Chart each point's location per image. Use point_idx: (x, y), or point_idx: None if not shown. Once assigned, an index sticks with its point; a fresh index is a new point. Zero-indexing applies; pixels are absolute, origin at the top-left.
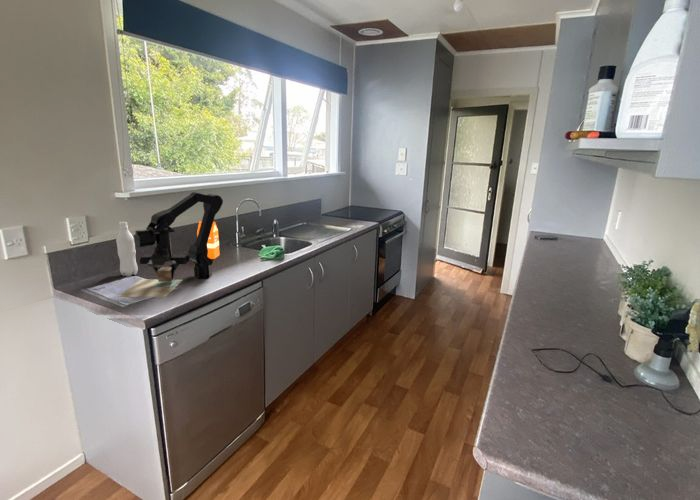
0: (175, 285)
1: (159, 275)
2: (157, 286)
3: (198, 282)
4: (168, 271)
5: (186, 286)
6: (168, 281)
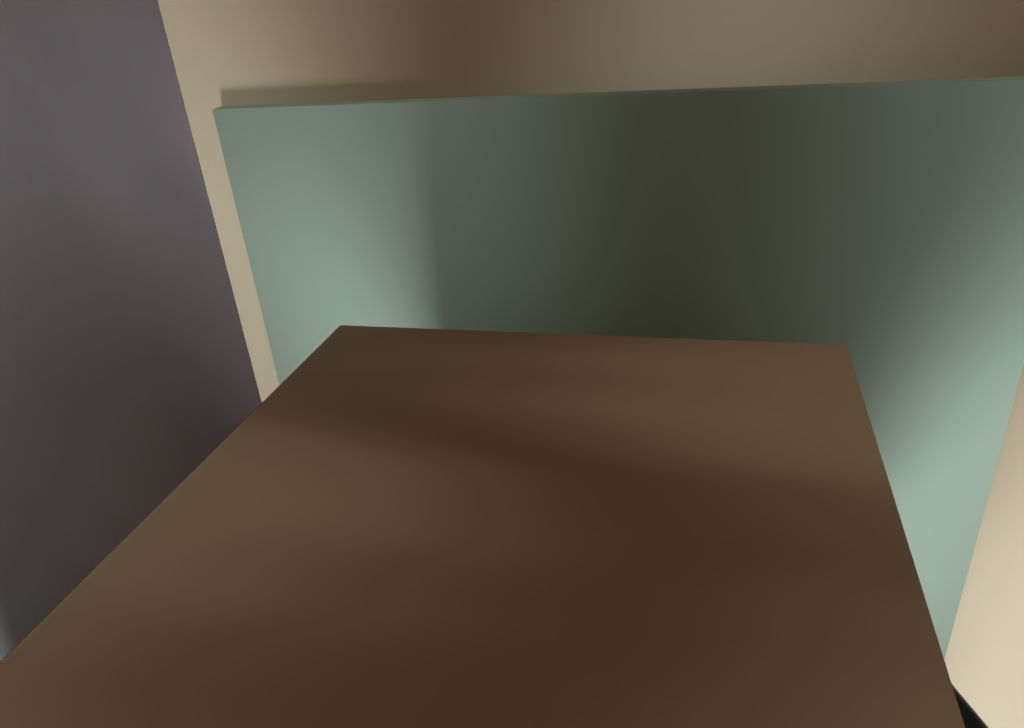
0: (250, 249)
1: (789, 545)
2: (836, 117)
3: (34, 543)
4: (36, 701)
5: (104, 329)
6: (413, 333)
